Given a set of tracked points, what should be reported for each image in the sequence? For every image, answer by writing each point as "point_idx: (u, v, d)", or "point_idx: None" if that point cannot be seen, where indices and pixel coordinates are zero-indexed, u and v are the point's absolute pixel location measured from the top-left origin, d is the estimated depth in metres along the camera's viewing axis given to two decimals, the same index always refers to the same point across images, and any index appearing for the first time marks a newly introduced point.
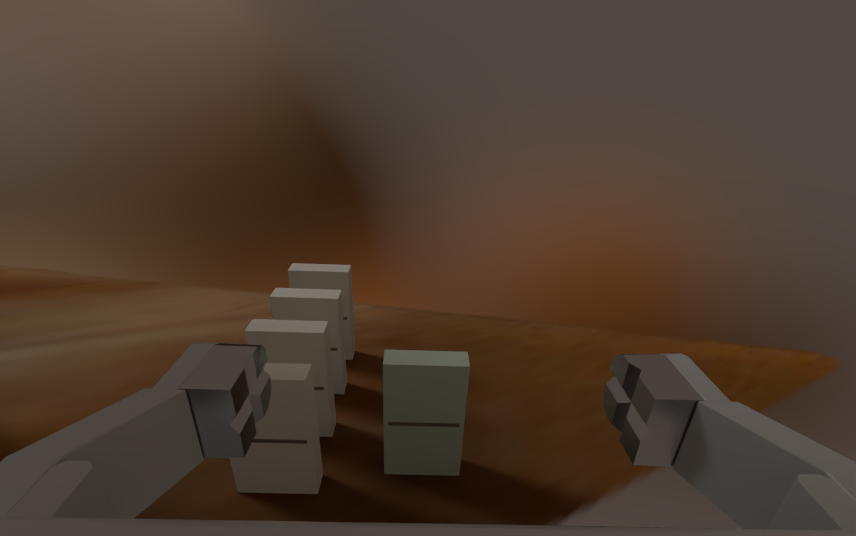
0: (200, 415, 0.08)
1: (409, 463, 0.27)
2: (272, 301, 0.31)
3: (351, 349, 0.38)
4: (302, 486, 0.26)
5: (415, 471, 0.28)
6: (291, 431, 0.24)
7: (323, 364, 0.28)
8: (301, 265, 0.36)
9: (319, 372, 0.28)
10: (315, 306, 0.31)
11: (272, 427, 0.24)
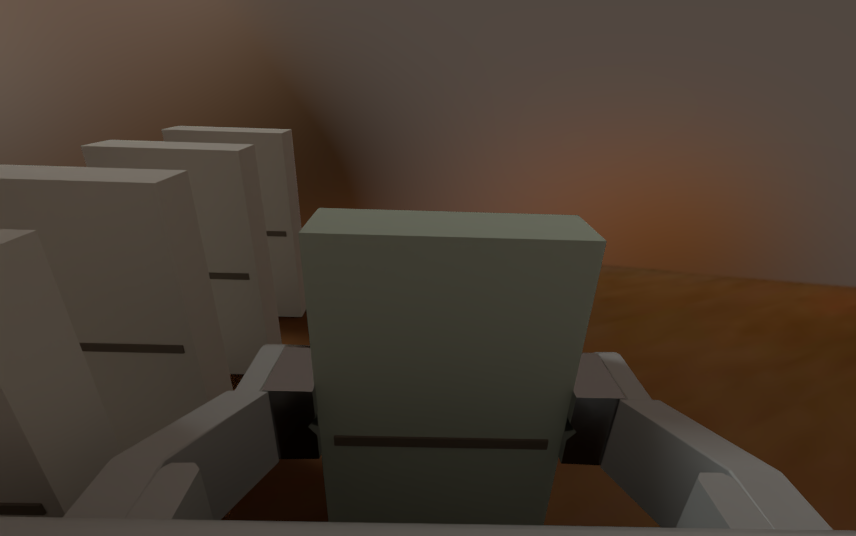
0: (280, 417, 0.08)
1: None
2: (90, 158, 0.13)
3: (298, 296, 0.21)
4: None
5: None
6: None
7: (172, 282, 0.10)
8: (194, 127, 0.18)
9: (165, 303, 0.11)
10: (189, 171, 0.14)
11: None
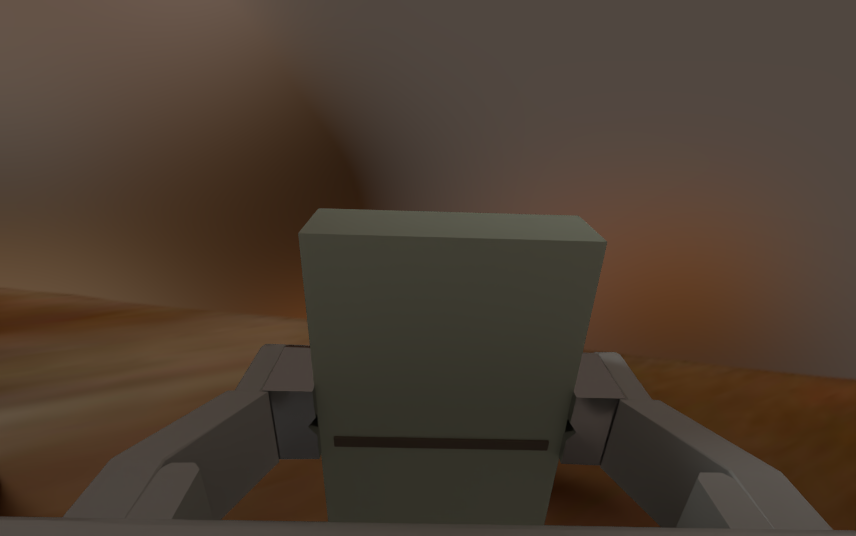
0: (280, 417, 0.08)
1: None
2: None
3: None
4: None
5: None
6: None
7: None
8: None
9: None
10: None
11: None
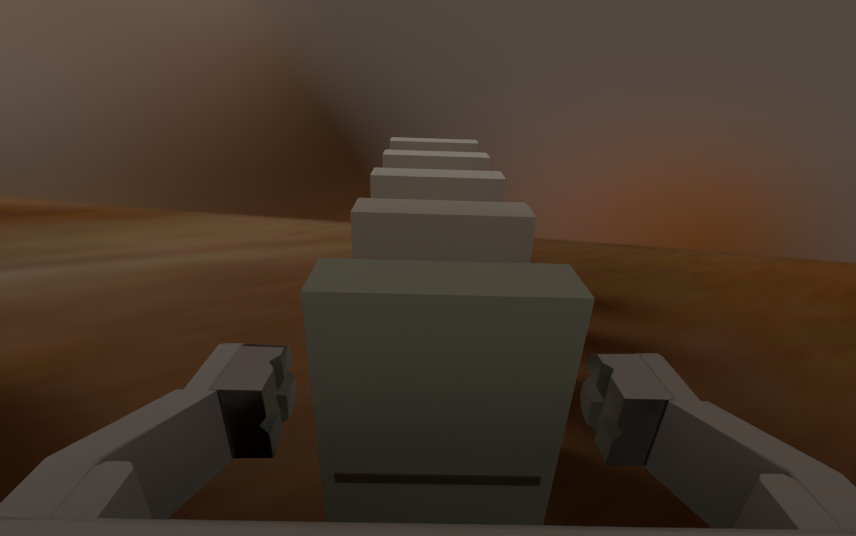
0: (230, 416, 0.08)
1: None
2: (386, 163, 0.20)
3: None
4: None
5: None
6: None
7: None
8: (405, 138, 0.24)
9: None
10: None
11: None
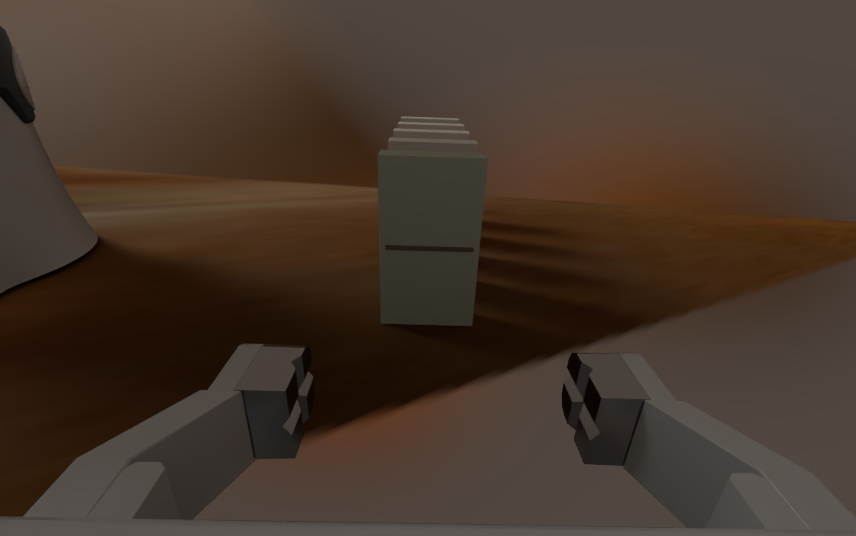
0: (254, 416, 0.08)
1: (411, 307, 0.22)
2: None
3: None
4: None
5: (418, 320, 0.23)
6: None
7: None
8: (411, 117, 0.36)
9: None
10: None
11: None
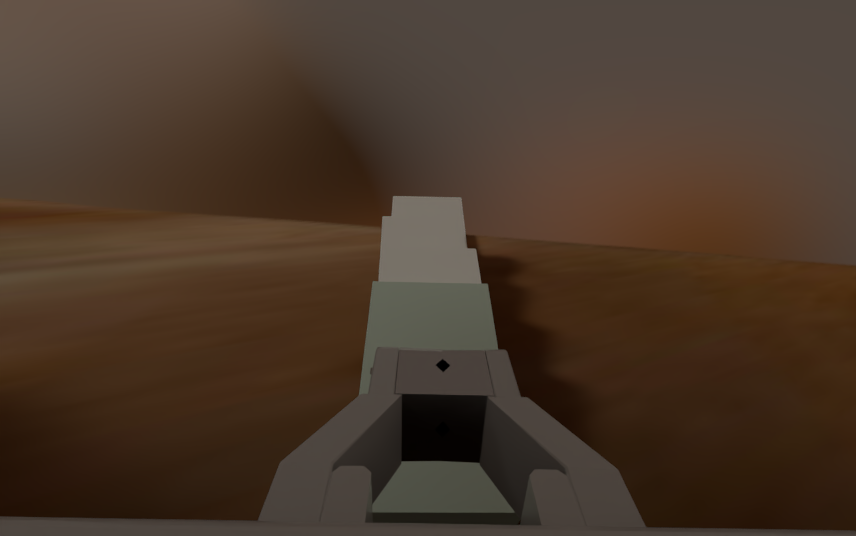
0: (409, 420, 0.08)
1: (405, 472, 0.12)
2: (395, 199, 0.30)
3: None
4: None
5: (420, 500, 0.12)
6: None
7: (462, 242, 0.25)
8: None
9: None
10: (438, 202, 0.30)
11: None
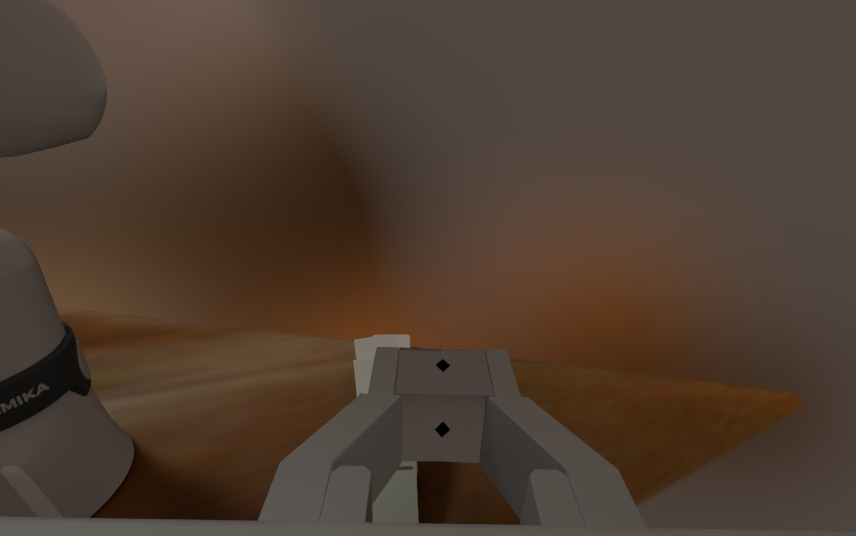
0: (409, 420, 0.08)
1: (377, 512, 0.34)
2: (355, 341, 0.52)
3: None
4: None
5: (382, 522, 0.34)
6: None
7: None
8: None
9: None
10: (381, 340, 0.52)
11: None
